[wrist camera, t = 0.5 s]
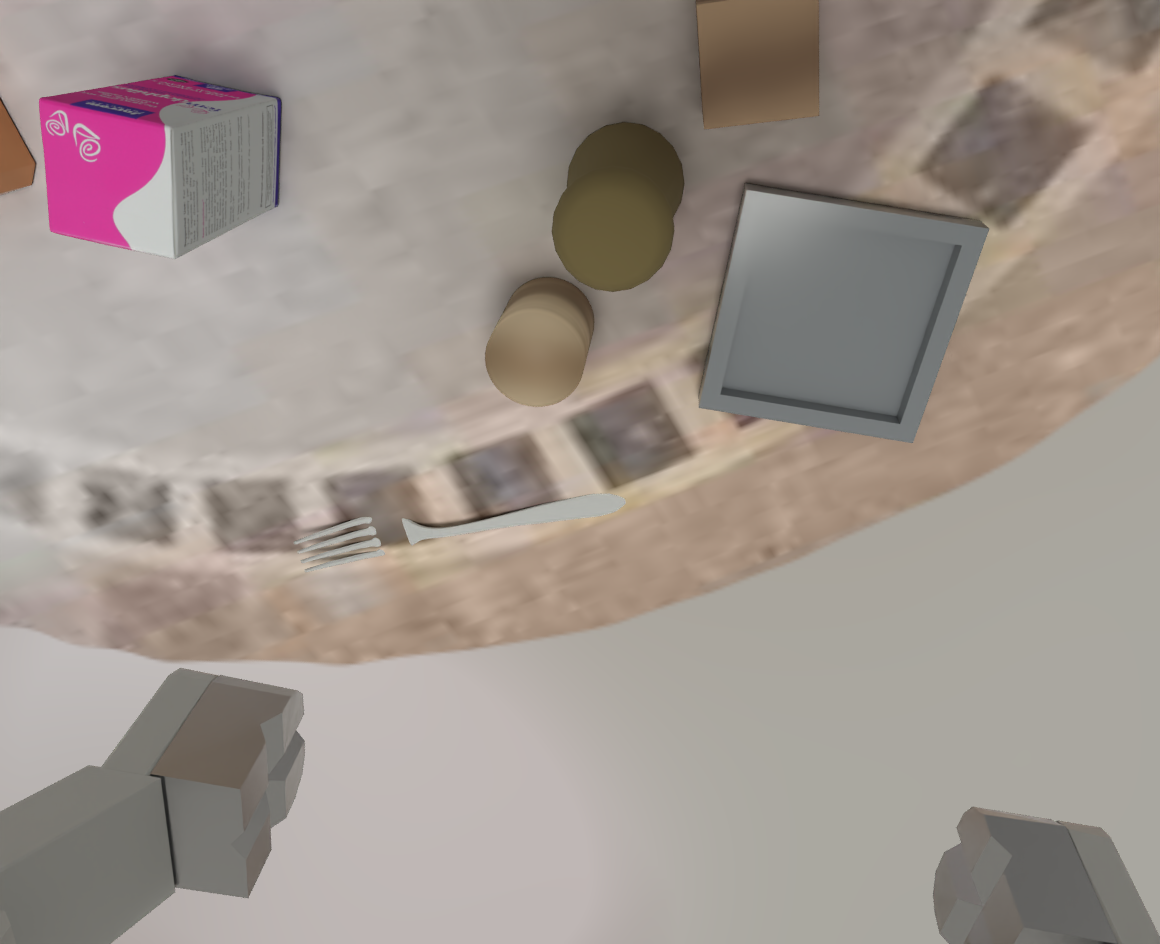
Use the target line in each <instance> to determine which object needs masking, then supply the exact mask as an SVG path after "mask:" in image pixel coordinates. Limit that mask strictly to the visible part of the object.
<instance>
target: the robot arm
mask: <svg viewBox="0 0 1160 944" xmlns="http://www.w3.org/2000/svg"><path fill="white" fill-rule="evenodd" d="M303 715H304V706H303V694H302V693H301V692H299V691H297V690H293V689H287V688H283V687H277V686H272V685H268V684H263V683H257V682H252V681H248V680H242V679H237V678H232V677H227V676H223V675H220V676H218V675H213V674H208V673H203V672H198V671H193V670H188V669H183V668H179V669H178V670H176V671H175V672H173V673H172V674H170V675H169V676H168V677H167V678H166V680H165V681H164V682H163V684H162V685H161V686H160V688H159V689H158V690H157V692H156V693H155V695H154V696H153V697H152V699H151V700H150V701H149V703H148V704H147V705H146V707H145V708H144V710H143V711H142V712H141V714H140V715H139V717H138V718H137V719H136V721H135V722H134V723H133V725H132V726H131V727H130V729H129V730H128V731H127V733H126V734H125V735H124V737H123V738H122V740H121V741H120V742H119V744H118V745H117V746H116V748H115V749H114V750H113V752H112V753H111V755H110V756H109V757H108V759H107V760H106V761H105V763H104V764H103V765H102V767H96V766H90V765H89V766H86V767H85V768H83V769H81V770H79V771H77V772H75V773H73V774H71V775H69V776H67V777H66V778H64V779H62V780H60V781H58V782H56V783H54V784H52V785H50V786H48V787H47V788H45V789H43V790H41V791H39V792H37V793H35V794H33V795H31V796H29V797H27V798H26V799H24V800H22V801H20V802H18V803H16V804H14V805H12V806H10V807H8V808H6V809H5V810H3V811H1V812H0V944H111V943H112V942H113V941H114V940H116V939H117V938H118V937H120V936H121V935H122V934H123V933H124V932H126V931H127V930H128V929H129V928H131V927H132V926H133V925H135V924H136V923H137V922H138V921H140V920H141V919H142V918H143V917H145V916H146V915H147V914H148V913H149V912H151V911H152V910H153V909H155V908H156V907H157V906H158V905H160V904H161V903H162V902H163V901H165V900H166V899H167V898H168V897H170V896H171V895H172V894H173V893H175V887H176V888H183V889H190V890H196V891H203V892H210V893H217V894H223V895H230V896H237V897H243V898H249V895H250V893H251V891H252V889H253V887H254V885H255V883H256V881H257V879H258V877H259V874H260V872H261V870H262V868H263V866H264V864H265V862H266V860H267V857H268V856H269V853H270V851H271V828H272V827H273V826H274V825H276V824H278V823H279V822H281V821H282V820H284V819H285V818H286V817H287V815H288V813H289V810H290V808H291V806H292V804H293V802H294V799H295V797H296V793H297V790H298V786H299V783H300V780H301V776H302V772H303V764H304V756H305V749H304V748H305V741H304V739H303V738H302V737H301V736H300V734H299V733H298V732H297V731H296V729H297V727H298V725H299V723H300V721H301V719H302V717H303ZM957 831H958V834H959V837H960V840H961V843H960V844H958V845H957V846H955V847H953V848H951V849H949V850H948V851H946V852H944V854H943V856H942V858H941V861H940V863H939V866H938V868H937V870H936V873H935V882H934V891H933V899H934V910H935V916H936V920H937V925H938V929H939V933H940V934H941V936H942V937H943V938H944V939H945V940H946V941H947V942H948V943H949V944H1160V936H1159V934H1158V932H1157V930H1156V928H1155V926H1154V924H1153V922H1152V920H1151V918H1150V916H1149V914H1148V912H1147V910H1146V908H1145V906H1144V904H1143V902H1142V900H1141V898H1140V896H1139V894H1138V892H1137V890H1136V888H1135V886H1134V884H1133V881H1132V879H1131V878H1130V876H1129V874H1128V871H1127V870H1126V867H1125V865H1124V863H1123V861H1122V859H1121V858H1120V855H1119V853H1118V851H1117V849H1116V847H1115V845H1114V843H1113V842H1112V839H1111V838H1110V836H1109V835H1108V834H1107V833H1106V832H1105V831H1104V830H1103V829H1102V828H1100V827H1094V826H1087V825H1082V824H1076V823H1069V822H1063V821H1053V820H1051V819H1045V818H1039V817H1033V816H1027V815H1021V814H1015V813H1008V812H1002V811H996V810H990V809H984V808H977V807H971V808H970V809H969V810H967V811H966V812H965V813H964V814H963V816H962V818H961V820H960V822H959V824H958V826H957Z"/></svg>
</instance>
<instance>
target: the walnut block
mask: <svg viewBox="0 0 1160 944" xmlns="http://www.w3.org/2000/svg"><path fill="white" fill-rule="evenodd" d="M696 13H697V29H698V46H699V62H700V79H701V95H702V112H703V122H704V129H712V128H720V127H729V126H737V125H746V124H754V123H763V122H771V121H780V120H788V119H797V118H805V117H814V116H819V0H696Z"/></svg>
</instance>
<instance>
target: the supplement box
mask: <svg viewBox="0 0 1160 944" xmlns="http://www.w3.org/2000/svg"><path fill="white" fill-rule="evenodd" d="M39 111H40V121H41V132H42V140H43V148H44V158H45V169H46V184H47V197H48V212H49V225H50V231H51V232H54V233H57V234H61V235H65V236H70V237H74V238H78V239H82V240H88V241H92V242H96V243H100V244H105V245H109V246H114V247H119V248H124V249H128V250H133V251H138V252H143V253H147V254H153V255H157V256H161V257H167V258H171V259H176V258H178V257H180V256H182V255H184V254H186V253H188V252H190V251H191V250H193V249H195V248H197V247H199V246H201V245H203V244H205V243H207V242H209V241H211V240H213V239H215V238H216V237H218V236H220V235H222V234H224V233H226V232H228V231H230V230H232V229H233V228H235V227H237V226H239V225H241V224H243V223H245V222H247V221H249V220H251V219H253V218H255V217H257V216H259V215H260V214H262V213H264V212H266V211H268V210H270V209H272V208H274V207H277V206H278V199H279V162H280V161H279V156H280V134H281V100H280V99H279V98H278V97H273V96H267V95H260V94H254V93H248V92H244V91H239V90H235V89H230V88H226V87H221V86H216V85H212V84H208V83H203V82H199V81H194V80H191V79H188V78H184V77H180V76H176V75H174V76H169V77H163V78H157V79H151V80H145V81H138V82H133V83H128V84H121V85H115V86H109V87H104V88H98V89H92V90H86V91H80V92H73V93H68V94H62V95H56V96H50V97H42V98H40V99H39Z"/></svg>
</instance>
